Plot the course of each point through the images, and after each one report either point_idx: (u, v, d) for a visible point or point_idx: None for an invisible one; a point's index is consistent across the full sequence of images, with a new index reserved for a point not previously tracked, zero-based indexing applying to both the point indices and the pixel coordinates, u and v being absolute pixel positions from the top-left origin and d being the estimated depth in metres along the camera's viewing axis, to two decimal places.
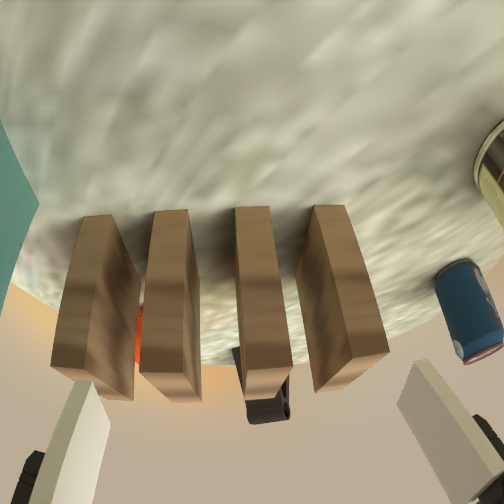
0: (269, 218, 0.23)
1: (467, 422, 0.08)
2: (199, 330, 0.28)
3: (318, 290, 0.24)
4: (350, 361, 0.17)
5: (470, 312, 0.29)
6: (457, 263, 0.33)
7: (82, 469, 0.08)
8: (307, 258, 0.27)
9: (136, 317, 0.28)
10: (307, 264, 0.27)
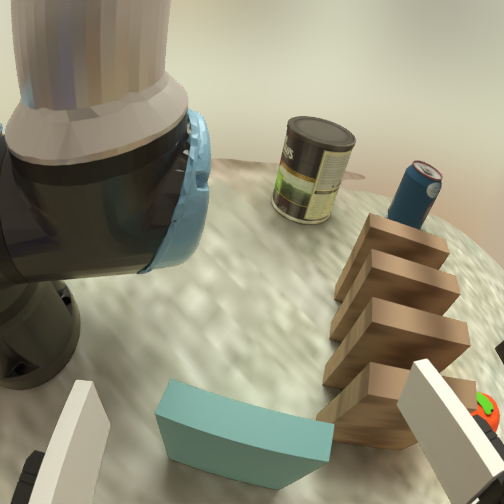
0: (335, 316, 0.36)
1: (467, 422, 0.08)
2: None
3: None
4: (376, 227, 0.31)
5: (406, 195, 0.48)
6: None
7: (82, 469, 0.08)
8: None
9: None
10: None
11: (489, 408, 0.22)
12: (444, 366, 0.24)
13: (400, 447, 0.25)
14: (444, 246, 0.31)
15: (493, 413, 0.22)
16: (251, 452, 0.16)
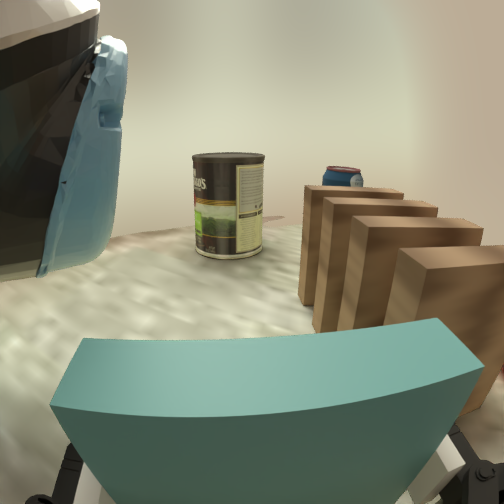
0: (313, 313, 0.29)
1: None
2: None
3: None
4: (318, 189, 0.29)
5: None
6: None
7: None
8: None
9: None
10: None
11: None
12: None
13: (479, 401, 0.17)
14: (395, 191, 0.30)
15: None
16: (322, 444, 0.06)
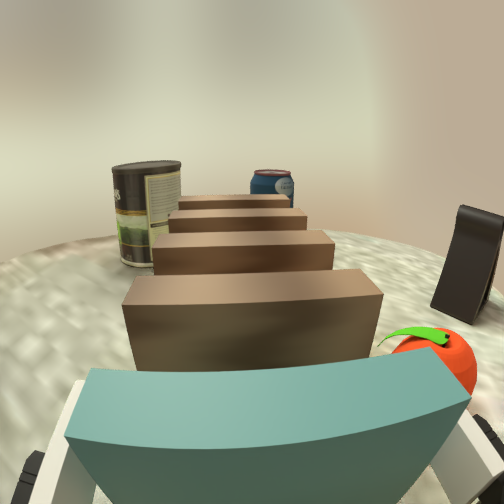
0: None
1: (467, 422, 0.08)
2: None
3: None
4: (185, 201, 0.28)
5: None
6: None
7: (82, 468, 0.08)
8: None
9: None
10: None
11: (441, 336, 0.17)
12: None
13: None
14: (282, 197, 0.29)
15: (453, 341, 0.17)
16: (315, 469, 0.06)
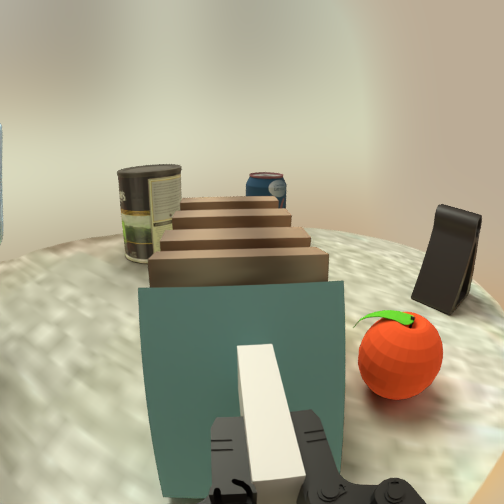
0: None
1: (278, 413, 0.10)
2: None
3: None
4: (186, 202, 0.32)
5: None
6: None
7: None
8: None
9: None
10: None
11: (407, 318, 0.21)
12: None
13: None
14: (272, 198, 0.33)
15: (419, 323, 0.21)
16: (260, 314, 0.15)
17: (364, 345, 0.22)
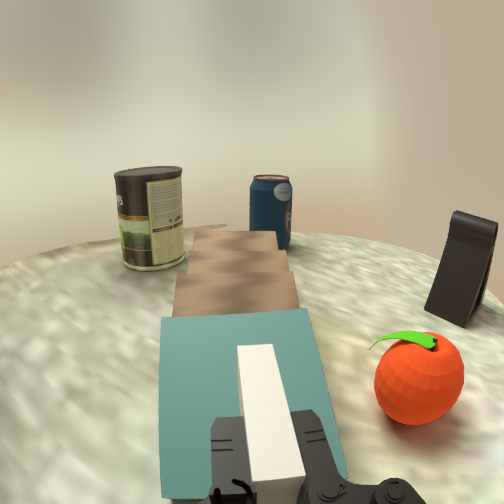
0: None
1: (279, 413, 0.10)
2: None
3: None
4: None
5: (257, 210, 0.50)
6: None
7: None
8: None
9: None
10: None
11: (429, 340, 0.18)
12: None
13: None
14: None
15: (441, 345, 0.18)
16: (248, 330, 0.20)
17: (382, 370, 0.19)
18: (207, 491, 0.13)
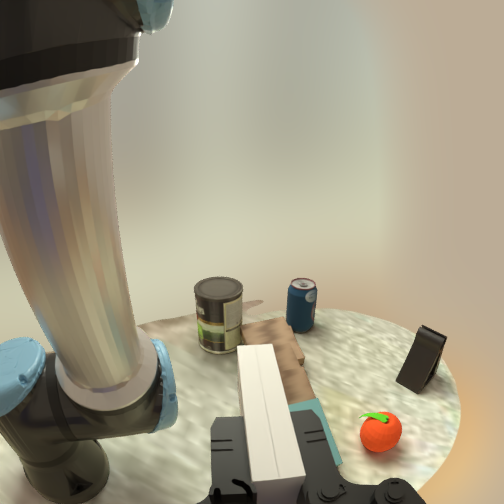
0: None
1: (278, 413, 0.10)
2: None
3: None
4: None
5: (293, 307, 0.73)
6: None
7: None
8: None
9: None
10: None
11: (384, 418, 0.40)
12: (295, 358, 0.57)
13: None
14: None
15: (390, 420, 0.40)
16: None
17: (363, 429, 0.41)
18: None
